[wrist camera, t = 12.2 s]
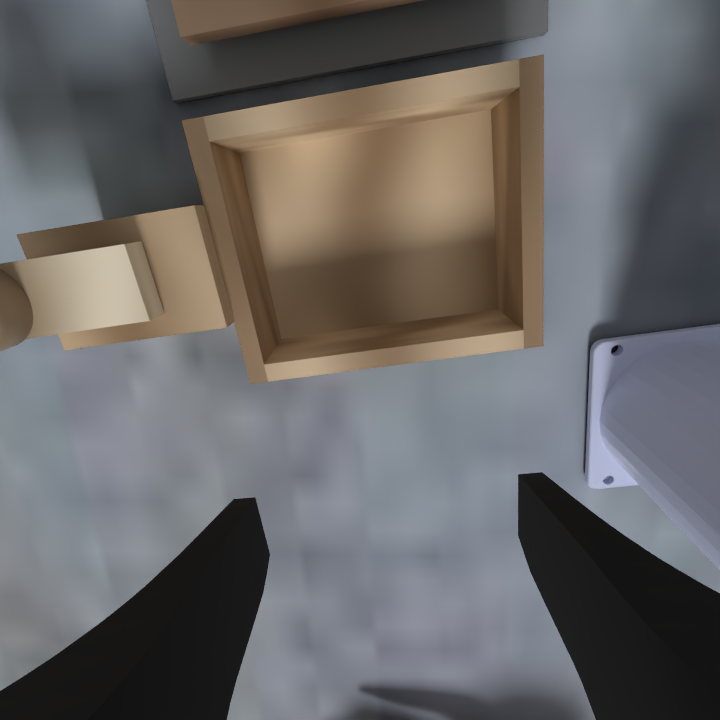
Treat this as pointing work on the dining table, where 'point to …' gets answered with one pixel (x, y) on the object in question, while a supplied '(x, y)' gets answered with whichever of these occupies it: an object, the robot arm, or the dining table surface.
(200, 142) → the open wooden box
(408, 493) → the dining table surface
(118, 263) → the beige piece
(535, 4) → the mat
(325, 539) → the dining table surface
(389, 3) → the lid
